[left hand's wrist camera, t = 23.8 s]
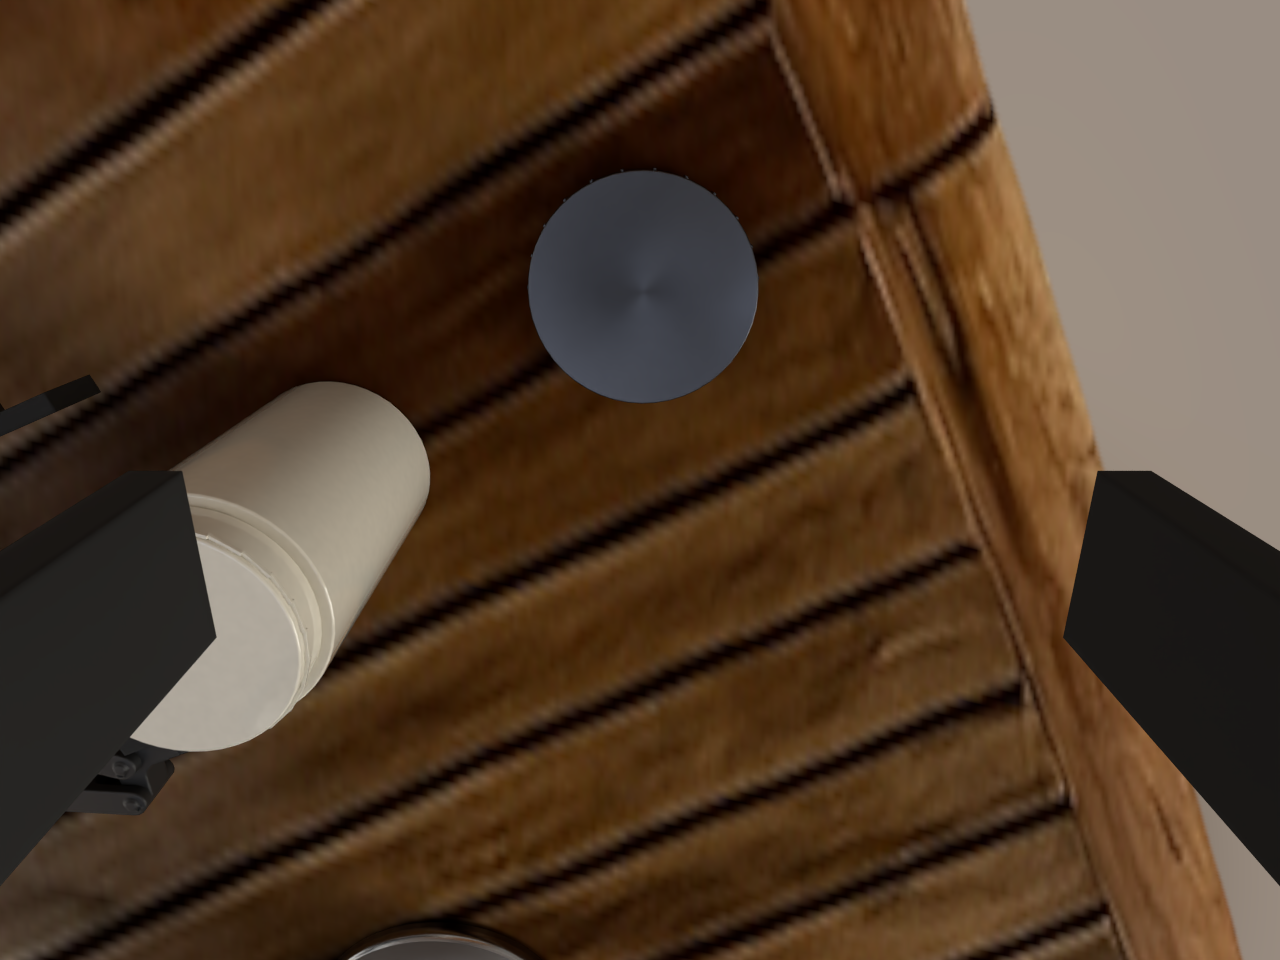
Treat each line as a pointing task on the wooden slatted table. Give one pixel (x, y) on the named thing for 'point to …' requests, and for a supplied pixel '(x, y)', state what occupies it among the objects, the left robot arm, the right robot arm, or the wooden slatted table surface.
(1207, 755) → the left robot arm
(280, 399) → the jar
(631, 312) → the lid
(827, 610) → the wooden slatted table surface
